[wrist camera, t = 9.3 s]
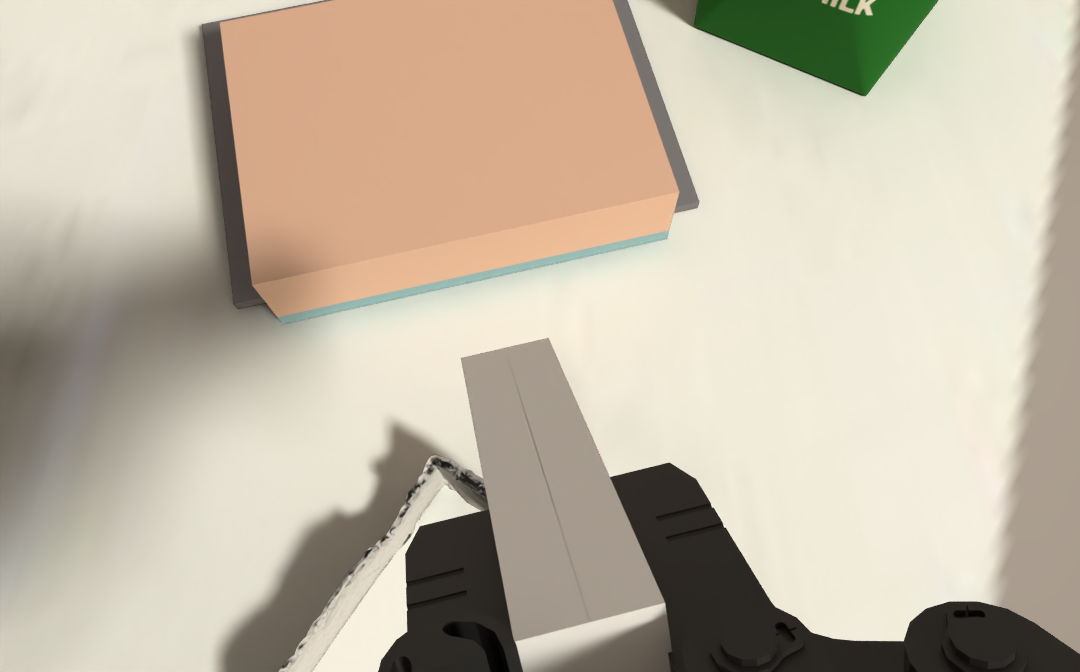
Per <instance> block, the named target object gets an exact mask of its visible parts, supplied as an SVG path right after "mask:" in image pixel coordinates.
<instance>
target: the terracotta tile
mask: <svg viewBox="0 0 1080 672" xmlns="http://www.w3.org/2000/svg"><path fill="white" fill-rule="evenodd" d="M220 29H221V37H222V45H223V53H224V62H225V70H226V78H227V86H228V94H229V102H230V110H231V118H232V126H233V134H234V142H235V151H236V159H237V167H238V175H239V183H240V191H241V199H242V207H243V215H244V223H245V231H246V240H247V248H248V256H249V264H250V272H251V280H252V286H253V287H254V288H255V289H256V291H257V292H258V293H259V295H260V296H261V297H262V298H263V300H264V301H265V302H266V303H267V305H268V306H269V307H270V308H271V310H272V311H273V312H274V314H275V315H276V316H277V317H278V319H279V320H280V321H281V322H282V324H287V323H291V322H296V321H300V320H305V319H309V318H314V317H318V316H323V315H327V314H332V313H336V312H341V311H345V310H350V309H354V308H359V307H363V306H368V305H372V304H377V303H381V302H386V301H390V300H395V299H399V298H404V297H408V296H413V295H417V294H422V293H426V292H431V291H435V290H440V289H444V288H449V287H453V286H458V285H462V284H467V283H471V282H476V281H480V280H485V279H489V278H494V277H498V276H503V275H507V274H512V273H516V272H521V271H525V270H530V269H534V268H539V267H543V266H548V265H552V264H557V263H561V262H566V261H570V260H575V259H579V258H584V257H588V256H593V255H597V254H602V253H606V252H611V251H615V250H620V249H624V248H629V247H633V246H638V245H642V244H647V243H651V242H656V241H660V240H665V239H667V237H668V233H669V229H670V226H671V222H672V218H673V214H674V211H675V207H676V203H677V199H678V195H679V189H678V186H677V184H676V181H675V178H674V175H673V172H672V169H671V166H670V163H669V161H668V158H667V155H666V152H665V149H664V146H663V143H662V141H661V138H660V135H659V132H658V129H657V126H656V123H655V120H654V118H653V115H652V112H651V109H650V106H649V103H648V100H647V97H646V95H645V92H644V89H643V86H642V83H641V80H640V77H639V75H638V72H637V69H636V66H635V63H634V60H633V57H632V54H631V52H630V49H629V46H628V43H627V40H626V37H625V34H624V32H623V29H622V26H621V23H620V20H619V17H618V14H617V11H616V9H615V6H614V3H613V0H332V1H327V2H322V3H317V4H312V5H307V6H302V7H296V8H291V9H286V10H281V11H276V12H271V13H266V14H261V15H255V16H250V17H245V18H240V19H235V20H230V21H225V22H220Z"/></svg>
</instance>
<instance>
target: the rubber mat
mask: <svg viewBox="0 0 1080 672" xmlns="http://www.w3.org/2000/svg"><path fill="white" fill-rule="evenodd" d="M327 1H332V0H324V1H319V2H314V3H309V4H304V5H298V6H293V7H288V8H283V9H278V10H273V11H268V12H263V13H257V14H252V15H247V16H242V17H237V18H232V19H227V20H222V21H216V22H211V23H206V24H202V29H203V37H204V46H205V55H206V64H207V73H208V81H209V90H210V99H211V108H212V117H213V125H214V134H215V143H216V152H217V161H218V169H219V178H220V187H221V196H222V205H223V213H224V222H225V231H226V240H227V249H228V258H229V266H230V275H231V284H232V293H233V302H234V305H235V306H236V307H237V308H238V309H240V308H245V307H249V306H254V305H259V304H263V303H266V302H265V301H264V300H263V298H262V297H261V296H260V295H259V293H258V292H257V291H256V289H255V288H254V287H253V286H252V280H251V272H250V264H249V256H248V248H247V240H246V231H245V223H244V215H243V207H242V199H241V191H240V183H239V175H238V167H237V159H236V151H235V142H234V134H233V126H232V118H231V110H230V102H229V94H228V86H227V78H226V70H225V62H224V53H223V45H222V37H221V29H220V22H225V21H230V20H235V19H240V18H245V17H250V16H255V15H261V14H266V13H271V12H276V11H281V10H286V9H291V8H296V7H302V6H307V5H312V4H317V3H322V2H327ZM613 3H614V6H615V9H616V11H617V14H618V17H619V20H620V23H621V26H622V29H623V32H624V34H625V37H626V40H627V43H628V46H629V49H630V52H631V54H632V57H633V60H634V63H635V66H636V69H637V72H638V75H639V77H640V80H641V83H642V86H643V89H644V92H645V95H646V97H647V100H648V103H649V106H650V109H651V112H652V115H653V118H654V120H655V123H656V126H657V129H658V132H659V135H660V138H661V141H662V143H663V146H664V149H665V152H666V155H667V158H668V161H669V163H670V166H671V169H672V172H673V175H674V178H675V181H676V184H677V186H678V189H679V195H678V199H677V203H676V207H675V211H674V213H676V212H681V211H685V210H690V209H695V208H698V205H699V200H698V197H697V194H696V191H695V188H694V186H693V183H692V180H691V177H690V174H689V172H688V169H687V166H686V163H685V160H684V158H683V155H682V152H681V149H680V146H679V144H678V141H677V138H676V135H675V132H674V130H673V127H672V124H671V121H670V118H669V116H668V113H667V110H666V107H665V104H664V102H663V99H662V96H661V93H660V90H659V88H658V85H657V82H656V79H655V76H654V74H653V71H652V68H651V65H650V62H649V60H648V57H647V54H646V51H645V48H644V46H643V43H642V40H641V37H640V34H639V32H638V29H637V26H636V23H635V20H634V18H633V15H632V12H631V9H630V6H629V4H628V1H627V0H613Z"/></svg>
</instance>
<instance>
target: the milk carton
mask: <svg viewBox="0 0 1080 672" xmlns="http://www.w3.org/2000/svg"><path fill="white" fill-rule="evenodd" d="M937 2H938V0H698V3H697V11H696V17H695V23H694V27H697V28H699V29H702V30H704V31H707V32H709V33H712V34H714V35H717V36H719V37H721V38H724V39H726V40H729V41H731V42H734V43H736V44H739V45H741V46H743V47H746V48H748V49H751V50H753V51H756V52H758V53H761V54H763V55H766V56H768V57H771V58H773V59H775V60H778V61H780V62H783V63H785V64H788V65H790V66H793V67H795V68H798V69H800V70H802V71H805V72H807V73H810V74H812V75H815V76H817V77H820V78H822V79H825V80H827V81H830V82H832V83H834V84H837V85H839V86H842V87H844V88H847V89H849V90H852V91H854V92H857V93H859V94H862V95H864V96H866V95H867V94H868V93H869V91H870V90H871V89H872V87H873V86H874V85H875V83H876V82H877V81H878V79H879V78H880V77H881V75H882V74H883V73H884V71H885V70H886V69H887V68H888V66H889V65H890V64H891V62H892V61H893V60H894V58H895V57H896V56H897V54H898V53H899V52H900V50H901V49H902V48H903V47H904V45H905V44H906V43H907V41H908V40H909V39H910V37H911V36H912V35H913V33H914V32H915V31H916V29H917V28H918V27H919V25H920V24H921V23H922V21H923V20H924V19H925V17H926V16H927V15H928V14H929V12H930V11H931V10H932V8H933V7H934V6H935V4H936V3H937Z"/></svg>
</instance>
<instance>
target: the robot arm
mask: <svg viewBox="0 0 1080 672" xmlns="http://www.w3.org/2000/svg"><path fill="white" fill-rule="evenodd" d="M461 361H462V366H463V372H464V377H465V382H466V388H467V393H468V398H469V404H470V409H471V414H472V420H473V425H474V431H475V436H476V441H477V447H478V452H479V457H480V463H481V468H482V473H483V479H484V484H485V489H486V495H487V500H488V505H489V510H485V511H481V512H477V513H473V514H469V515H464V516H460V517H456V518H452V519H448V520H444V521H440V522H436V523H432V524H428V525H424V526H420V527H419V529H418V531H417V533H416V535H415V537H414V539H413V541H412V542H411V544H410V546H409V548H408V550H407V552H406V554H405V557H406V583H407V587H406V595H407V608H408V611H407V632H406V633H405V634H404V635H402V636H401V637H400V638H398V639H397V640H396V641H395V642H394V644H393V645H392V646H391V648H390V649H389V651H388V652H387V653H386V655H385V656H384V657H383V659H382V660H381V663H380V667H379V671H378V672H1080V654H1079V653H1077V652H1076V651H1074V650H1073V649H1071V648H1070V647H1068V646H1067V645H1065V644H1064V643H1062V642H1061V641H1060V640H1058V639H1057V638H1055V637H1054V636H1053V635H1051V634H1050V633H1048V632H1047V631H1045V630H1044V629H1042V628H1041V627H1040V626H1038V625H1037V624H1035V623H1034V622H1032V621H1029V620H1028V619H1026V618H1024V617H1022V616H1020V615H1018V614H1016V613H1014V612H1012V611H1010V610H1008V609H1005V608H1002V607H998V606H993V605H989V604H985V603H981V602H947V603H943V604H940V605H937V606H933V607H930V608H927V609H925V610H924V611H923V612H922V613H920V614H919V615H918V616H917V617H916V618H914V619H913V620H912V621H911V622H910V624H909V627H908V630H907V633H906V636H905V639H904V641H850V640H840V639H832V638H829V637H825V636H821V635H818V634H814V633H812V632H810V631H809V630H808V629H807V628H806V627H805V626H804V625H803V624H802V623H801V622H800V621H799V620H798V618H796V617H794V616H792V615H790V614H788V613H786V612H784V611H782V610H780V609H778V608H776V607H775V606H774V605H773V604H772V602H771V601H770V599H769V598H768V596H767V595H766V593H765V591H764V590H763V588H762V586H761V585H760V583H759V581H758V580H757V578H756V577H755V575H754V573H753V572H752V570H751V568H750V567H749V565H748V563H747V562H746V560H745V559H744V557H743V555H742V554H741V552H740V550H739V549H738V547H737V545H736V544H735V542H734V541H733V539H732V537H731V536H730V534H729V532H728V531H727V529H726V528H724V526H723V523H722V521H721V519H720V518H719V516H718V514H717V513H716V511H715V509H714V508H712V507H711V503H710V501H709V500H708V498H707V496H706V495H705V493H704V491H703V490H702V488H701V487H700V485H699V483H698V482H697V480H696V479H695V478H693V477H691V476H690V475H688V474H687V473H685V472H684V471H682V470H680V469H679V468H677V467H676V466H674V465H672V464H671V463H666V464H662V465H658V466H654V467H650V468H645V469H641V470H637V471H633V472H629V473H625V474H621V475H617V476H613V477H609V474H608V472H607V470H606V468H605V465H604V463H603V461H602V458H601V456H600V454H599V452H598V449H597V447H596V445H595V443H594V440H593V438H592V436H591V433H590V431H589V429H588V427H587V424H586V422H585V420H584V418H583V415H582V413H581V411H580V409H579V406H578V404H577V402H576V399H575V397H574V395H573V393H572V390H571V388H570V386H569V384H568V381H567V379H566V377H565V374H564V372H563V370H562V368H561V365H560V363H559V361H558V359H557V356H556V354H555V352H554V350H553V347H552V345H551V343H550V340H549V338H546V339H542V340H538V341H533V342H529V343H525V344H520V345H516V346H511V347H507V348H503V349H498V350H494V351H490V352H485V353H481V354H477V355H472V356H468V357H464V358H461Z"/></svg>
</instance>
